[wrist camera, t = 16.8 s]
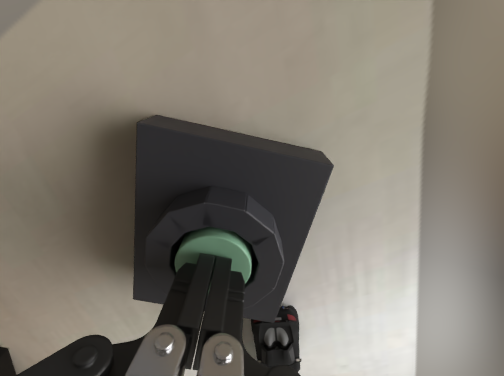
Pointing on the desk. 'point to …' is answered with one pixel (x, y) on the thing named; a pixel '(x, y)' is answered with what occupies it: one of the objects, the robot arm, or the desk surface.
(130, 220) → the desk surface
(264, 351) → the toy car
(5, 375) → the switch bracket
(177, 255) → the power button
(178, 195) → the switch block
